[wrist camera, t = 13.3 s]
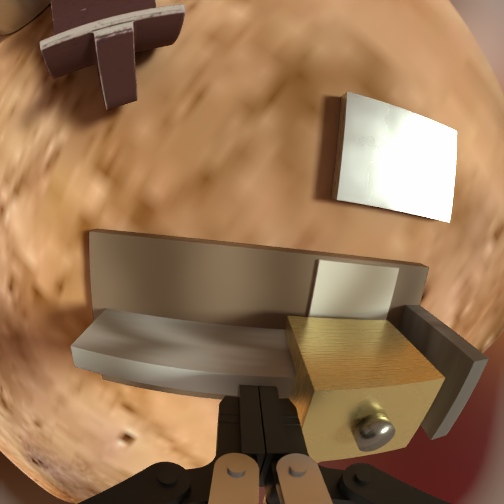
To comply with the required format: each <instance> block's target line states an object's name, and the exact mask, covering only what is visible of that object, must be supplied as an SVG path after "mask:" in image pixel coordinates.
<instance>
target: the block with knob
mask: <svg viewBox="0 0 504 504" xmlns="http://www.w3.org/2000/svg"><path fill="white" fill-rule="evenodd" d="M284 334H285V337H286V341H287V344H288V347H289V350H290V354H291V357H292V360H293V363H294V367H295V370H296V374H295V378H294V382H293V385H292V389H291V393H290V397H289V398H285V399H290V401H291V402H292V403H293V404H294V405H295V406H296V409H297V413H298V418H299V420H300V426H301V428H302V432H303V436H304V439H305V443H306V447H307V451H308V454H309V456H310V457H311V458H312V459H313V460H315V462H318V461H328V460H337V459H345V458H352V457H359V456H365V455H370V454H376V453H381V452H386V451H390V450H395V449H399V448H403V447H406V446H407V444H408V443H409V441H410V440H411V438H412V437H413V435H414V434H415V432H416V430H417V429H418V427H419V425H420V424H421V422H422V420H423V419H424V417H425V415H426V414H427V412H428V410H429V408H430V407H431V405H432V403H433V401H434V399H435V397H436V395H437V393H438V392H439V390H440V388H441V386H442V384H443V382H444V380H445V377H444V376H443V375H442V374H441V373H440V372H439V371H438V370H437V369H436V368H435V367H434V366H433V365H432V364H431V363H430V362H429V361H428V360H427V359H426V358H425V357H424V356H423V355H422V354H421V353H420V352H419V351H418V350H417V349H416V348H415V347H414V346H413V345H412V344H411V343H410V342H409V341H408V340H407V339H406V338H405V337H404V336H403V335H402V334H401V333H400V332H399V331H398V330H397V329H396V328H395V327H394V326H393V325H392V324H391V323H390V322H389V321H388V320H359V319H333V318H314V317H298V316H287V320H286V325H285V331H284Z"/></svg>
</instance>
